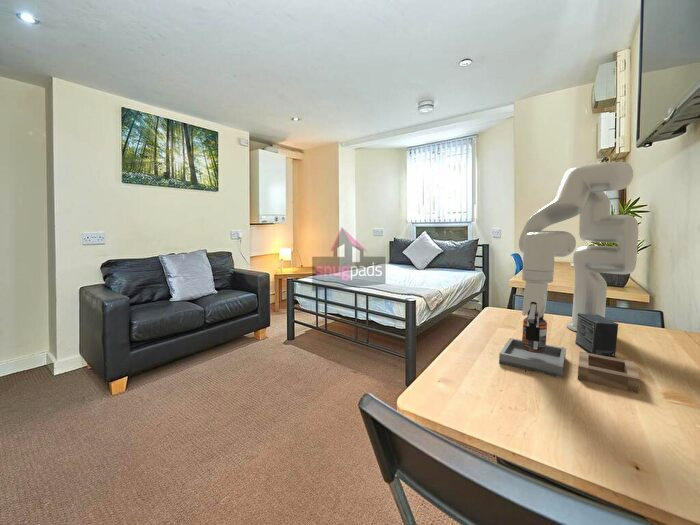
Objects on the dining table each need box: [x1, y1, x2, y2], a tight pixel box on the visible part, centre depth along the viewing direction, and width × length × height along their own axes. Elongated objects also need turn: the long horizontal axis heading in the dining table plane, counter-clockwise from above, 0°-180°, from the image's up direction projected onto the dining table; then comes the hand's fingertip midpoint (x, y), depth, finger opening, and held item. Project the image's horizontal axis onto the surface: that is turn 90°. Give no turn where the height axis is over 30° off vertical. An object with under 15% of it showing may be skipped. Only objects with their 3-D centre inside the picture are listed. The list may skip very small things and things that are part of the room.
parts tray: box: [498, 337, 567, 379], centre depth 89 cm, size 15×15×3 cm
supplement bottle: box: [521, 313, 548, 353], centre depth 89 cm, size 6×6×11 cm
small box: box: [574, 313, 619, 358], centre depth 96 cm, size 11×6×10 cm, turn 168°
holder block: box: [577, 351, 641, 394], centre depth 79 cm, size 12×12×4 cm
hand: (534, 336), depth 89 cm, fingers closed on supplement bottle, 6 cm apart
